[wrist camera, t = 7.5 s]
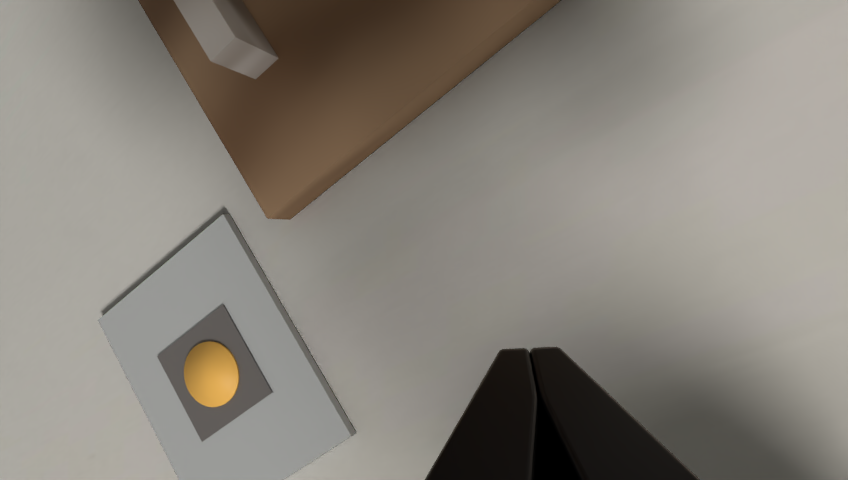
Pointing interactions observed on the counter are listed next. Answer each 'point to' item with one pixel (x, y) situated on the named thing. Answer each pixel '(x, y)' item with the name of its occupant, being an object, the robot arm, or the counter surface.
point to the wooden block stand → (325, 76)
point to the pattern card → (223, 366)
